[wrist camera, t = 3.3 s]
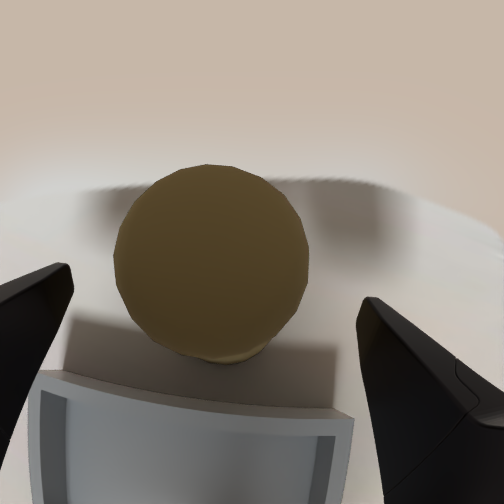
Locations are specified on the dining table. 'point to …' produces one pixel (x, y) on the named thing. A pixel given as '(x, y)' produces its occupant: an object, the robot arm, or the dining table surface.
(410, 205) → the dining table surface
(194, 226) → the cork
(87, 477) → the tray
